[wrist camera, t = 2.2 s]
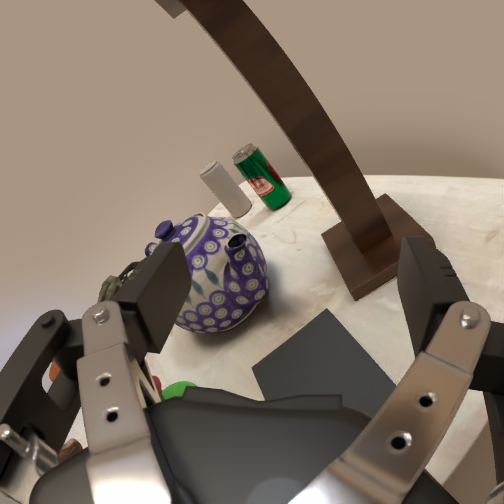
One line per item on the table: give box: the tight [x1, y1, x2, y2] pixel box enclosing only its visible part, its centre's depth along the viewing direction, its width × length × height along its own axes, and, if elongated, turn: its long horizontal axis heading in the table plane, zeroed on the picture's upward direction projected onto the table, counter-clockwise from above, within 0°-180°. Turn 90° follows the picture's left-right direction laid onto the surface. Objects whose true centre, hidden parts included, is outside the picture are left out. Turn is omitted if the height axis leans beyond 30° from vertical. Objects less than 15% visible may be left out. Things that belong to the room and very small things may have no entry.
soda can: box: [232, 144, 290, 210], centre depth 56 cm, size 5×5×12 cm
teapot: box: [145, 213, 269, 333], centre depth 41 cm, size 25×15×15 cm, turn 49°
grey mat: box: [252, 308, 397, 417], centre depth 25 cm, size 16×10×1 cm, turn 19°
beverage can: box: [199, 160, 251, 217], centre depth 64 cm, size 5×5×12 cm
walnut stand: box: [155, 0, 436, 301], centre depth 27 cm, size 12×10×34 cm
